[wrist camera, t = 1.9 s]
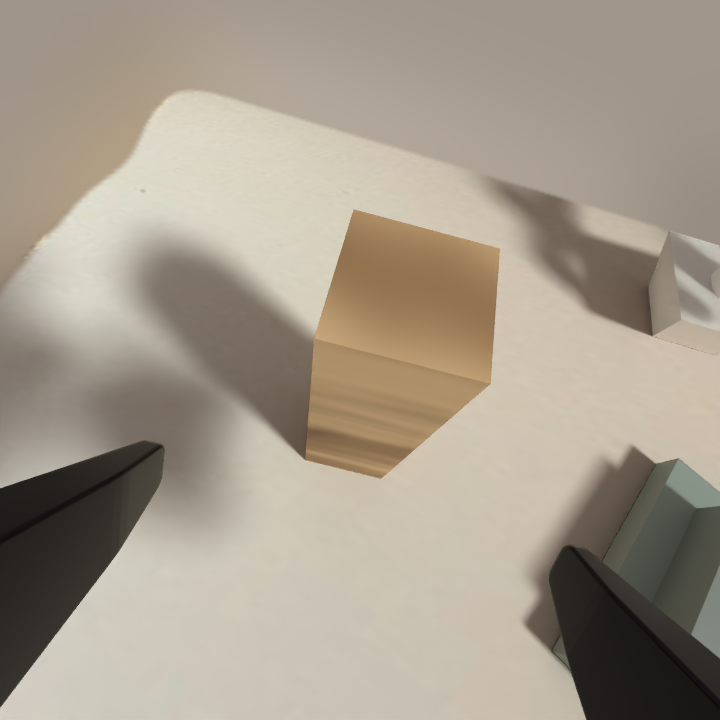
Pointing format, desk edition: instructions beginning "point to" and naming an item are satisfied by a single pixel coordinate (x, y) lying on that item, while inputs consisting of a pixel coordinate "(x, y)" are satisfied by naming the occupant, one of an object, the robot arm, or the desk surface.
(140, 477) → the robot arm
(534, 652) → the desk surface
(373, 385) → the oak stick
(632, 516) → the socket holder
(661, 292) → the figurine
